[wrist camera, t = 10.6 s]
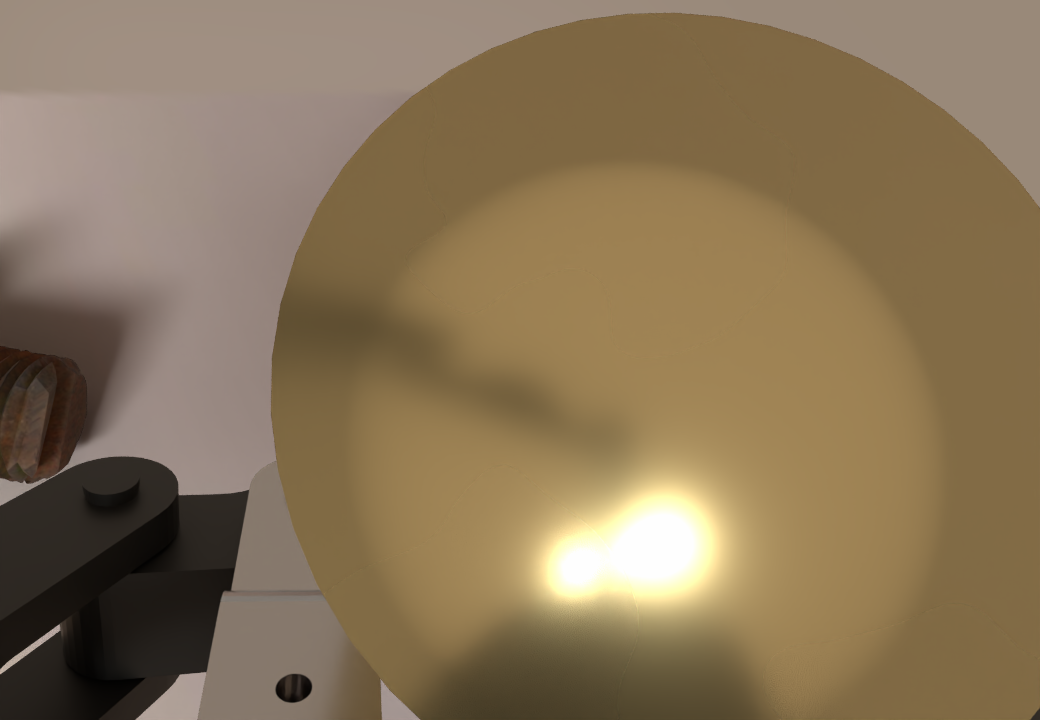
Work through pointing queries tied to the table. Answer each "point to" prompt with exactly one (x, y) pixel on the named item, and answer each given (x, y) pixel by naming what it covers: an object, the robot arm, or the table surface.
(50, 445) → the bolt
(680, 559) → the tall amber cylinder
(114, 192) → the table surface
